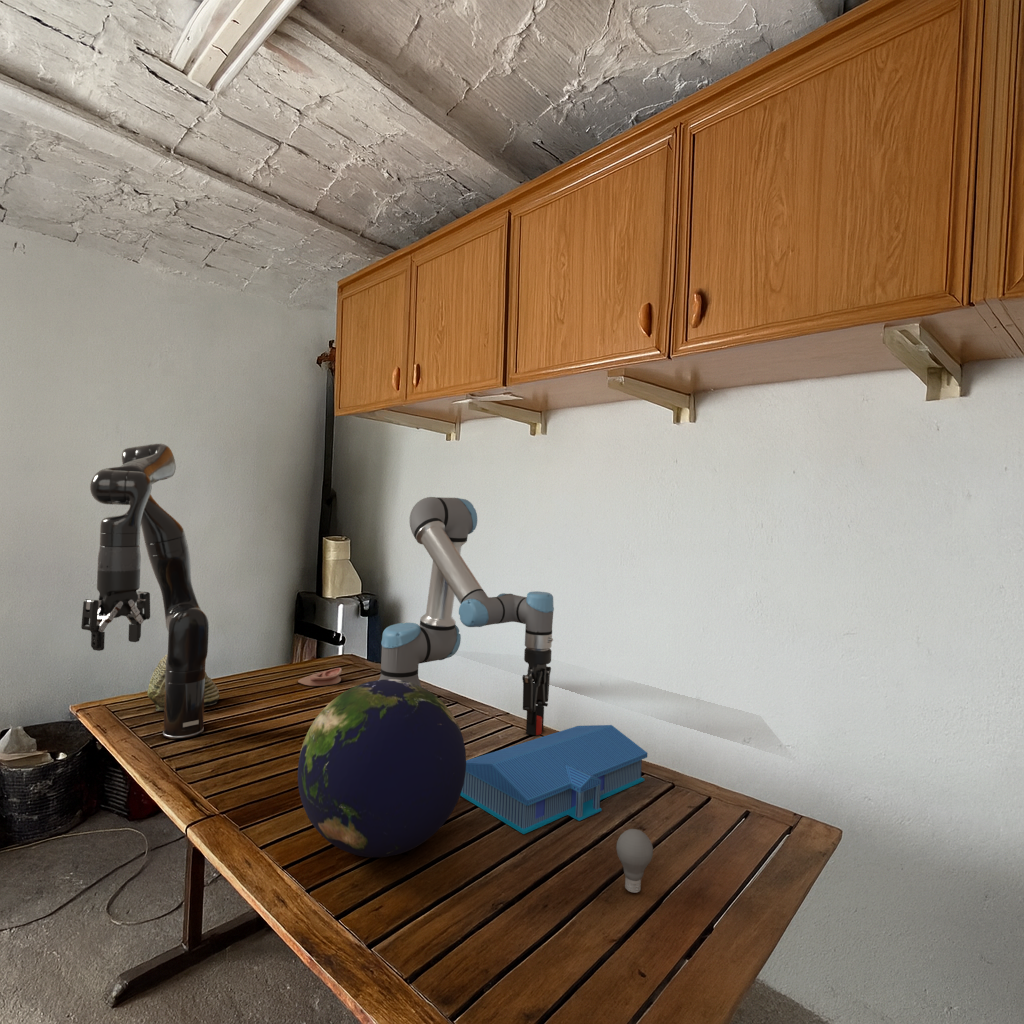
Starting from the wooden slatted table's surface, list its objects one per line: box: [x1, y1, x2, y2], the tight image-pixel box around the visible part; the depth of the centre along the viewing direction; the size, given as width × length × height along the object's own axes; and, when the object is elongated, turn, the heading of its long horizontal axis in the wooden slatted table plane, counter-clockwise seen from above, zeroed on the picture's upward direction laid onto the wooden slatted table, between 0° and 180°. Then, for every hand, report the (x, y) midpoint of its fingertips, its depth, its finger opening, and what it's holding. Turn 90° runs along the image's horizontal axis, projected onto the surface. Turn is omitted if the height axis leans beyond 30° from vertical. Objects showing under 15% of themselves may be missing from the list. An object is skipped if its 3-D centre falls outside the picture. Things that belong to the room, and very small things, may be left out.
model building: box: [460, 724, 649, 835], centre depth 142 cm, size 39×24×10 cm, turn 132°
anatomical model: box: [297, 667, 343, 687], centre depth 214 cm, size 13×4×12 cm
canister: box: [535, 716, 543, 736], centre depth 176 cm, size 4×4×4 cm
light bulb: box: [615, 828, 654, 894], centre depth 106 cm, size 6×6×10 cm
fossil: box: [147, 654, 221, 712], centre depth 185 cm, size 9×18×15 cm, turn 132°
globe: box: [297, 679, 467, 858], centre depth 116 cm, size 30×30×30 cm
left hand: (116, 645), depth 131 cm, fingers open, 8 cm apart
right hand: (534, 731), depth 176 cm, fingers closed on canister, 4 cm apart
